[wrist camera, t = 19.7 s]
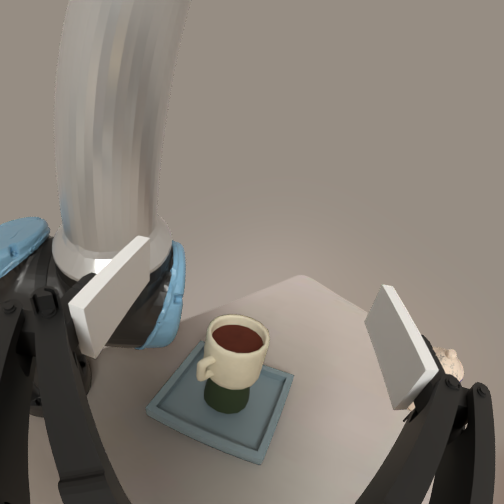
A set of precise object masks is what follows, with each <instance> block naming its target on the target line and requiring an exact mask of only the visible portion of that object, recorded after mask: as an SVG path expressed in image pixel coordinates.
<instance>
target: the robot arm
mask: <svg viewBox="0 0 504 504" xmlns="http://www.w3.org/2000/svg"><path fill="white" fill-rule="evenodd" d="M191 1H192V0H69V2H68V6H67V11H66V15H65V19H64V24H63V29H62V35H61V41H60V48H59V55H58V62H57V71H56V83H55V101H54V146H55V164H56V177H57V187H58V195H59V203H60V210H61V217H62V222H63V223H62V225H61V226H60V227H59V229H58V230H57V232H56V234H55V236H54V237H51V236H49V233H50V228H49V227H48V224H47V222H46V221H45V220H44V219H41V218H39V217H26V218H20V219H16V220H12V221H9V222H6V223H3V224H1V225H0V504H30V492H29V478H28V428H29V414H31V415H34V416H38V417H44V419H45V424H46V429H47V433H48V437H49V441H50V445H51V449H52V453H53V456H54V460H55V463H56V466H57V470H58V473H59V476H60V481H59V483H58V489H59V492H60V496H61V498H62V501H63V503H64V504H131V502H130V500H129V499H128V497H127V496H126V494H125V493H124V491H123V489H122V487H121V485H120V483H119V481H118V479H117V477H116V475H115V472H114V470H113V468H112V466H111V463H110V461H109V459H108V456H107V454H106V452H105V449H104V447H103V444H102V442H101V439H100V436H99V434H98V431H97V428H96V425H95V422H94V419H93V416H92V413H91V410H90V407H89V404H88V400H87V397H86V395H87V393H88V390H89V388H90V384H91V371H90V367H89V364H88V361H87V358H86V355H87V356H89V357H91V358H94V359H96V358H97V357H98V355H99V354H100V352H101V350H102V349H103V347H104V346H110V347H124V348H135V349H138V350H142V349H144V348H156V347H165V346H167V345H169V344H170V343H171V342H172V341H173V340H174V338H175V336H176V334H177V331H178V328H179V324H180V319H181V314H182V306H183V303H182V297H183V294H184V288H185V270H186V268H185V267H186V264H185V252H184V248H183V246H182V245H181V244H180V243H178V242H175V241H173V240H172V234H171V231H170V228H169V226H168V225H167V223H166V222H165V221H164V220H163V219H162V218H161V217H160V216H159V215H158V214H157V204H158V190H159V178H160V167H161V157H162V148H163V140H164V132H165V124H166V117H167V110H168V104H169V97H170V93H171V87H172V81H173V76H174V71H175V66H176V61H177V56H178V52H179V47H180V43H181V38H182V34H183V30H184V26H185V22H186V18H187V14H188V11H189V7H190V4H191ZM365 325H366V328H367V330H368V333H369V336H370V339H371V342H372V344H373V347H374V350H375V353H376V356H377V359H378V362H379V365H380V368H381V371H382V374H383V377H384V381H385V384H386V387H387V390H388V394H389V397H390V400H391V404H392V407H393V410H404V409H407V408H408V407H409V406H410V405H411V403H412V402H414V405H415V408H414V409H413V410H412V411H411V412H410V413H409V415H408V416H407V417H406V418H405V419H404V420H403V422H405V421H406V420H407V421H406V423H405V425H404V427H403V429H402V431H401V433H400V435H399V437H398V438H397V440H396V442H395V444H394V446H393V447H392V449H391V451H390V452H389V454H388V456H387V457H386V459H385V461H384V462H383V464H382V465H381V467H380V469H379V470H378V472H377V473H376V475H375V476H374V478H373V479H372V481H371V482H370V484H369V485H368V486H367V488H366V489H365V491H364V492H363V493H362V495H361V496H360V497H359V499H358V500H357V501H356V503H355V504H421V503H422V501H423V499H424V497H425V495H426V493H427V491H428V489H429V487H430V485H431V482H432V480H433V478H434V476H435V478H434V483H433V488H432V493H431V497H430V501H429V504H492V503H493V494H494V480H495V434H494V419H493V409H492V401H491V395H490V391H489V390H488V388H487V387H486V386H485V385H484V384H482V383H479V382H477V383H475V384H474V385H473V386H472V387H471V388H470V389H467V388H464V387H462V386H461V384H460V382H459V380H458V379H457V378H456V377H454V376H453V375H451V374H446V373H445V371H444V369H443V367H442V365H441V363H440V361H439V359H438V357H437V356H436V353H435V351H434V350H433V347H432V346H431V344H430V342H429V341H428V340H427V339H426V337H424V335H421V334H420V332H419V331H418V329H417V327H416V325H415V323H414V322H413V320H412V318H411V316H410V314H409V313H408V311H407V309H406V308H405V306H404V304H403V302H402V301H401V299H400V298H399V296H398V294H397V292H396V291H395V289H394V287H393V286H388V285H383V284H382V285H381V288H380V290H379V292H378V294H377V297H376V299H375V301H374V303H373V306H372V307H371V309H370V312H369V314H368V316H367V318H366V320H365ZM467 423H468V425H467V428H466V429H465V425H466V424H467Z"/></svg>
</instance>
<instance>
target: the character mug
mask: <svg viewBox="0 0 504 504" xmlns="http://www.w3.org/2000/svg"><path fill="white" fill-rule="evenodd" d="M269 341H270V336H269V331H268V329H266V328H265V327H264V326H263V325H262V324H261V323H260V322H258V321H256V320H254V319H253V318H250V317H247V316H243V315H237V314H227V315H222V316H219V317H217V318H215V319H214V320H213V321H211V322H210V325H209V327H208V329H207V333H206V340H205V345H204V357H203V359H201V360H200V361H199V362H198V363H197V371H196V377H197V380H198V381H204V380H206V379H207V382H206V385H205V389H204V400H205V401H206V403H207V404H208V406H210V407H211V408H213V409H214V410H216V411H218V412H221V413H225V414H233V413H238V412H240V411H241V410H243V409H244V408H245V407H246V405H247V403H248V401H249V394H250V386H252V385H253V384H254V383H255V382H256V381H257V379H258V378H259V375H260V372H261V369H262V366H263V362H264V359H265V356H266V353H267V349H268V345H269Z"/></svg>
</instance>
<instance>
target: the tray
mask: <svg viewBox="0 0 504 504" xmlns="http://www.w3.org/2000/svg"><path fill="white" fill-rule="evenodd" d="M204 345H205V342H203V341H200V342H199V343H198V344H197V346H196V347H195V348H194V349H193V351H192V352H191V353H190V354H189V355H188V357H187V358H186V359H185V360H184V362H183V363H182V364H181V365H180V367H179V368H178V369H177V370H176V371H175V373H174V374H173V375H172V376H171V378H170V379H169V380H168V381H167V382H166V384H165V385H164V386H163V387H162V388H161V390H160V391H159V392H158V393H157V395H156V396H155V397H154V398H153V399H152V401H151V402H150V403H149V404H148V405H147V407H146V413H147V415H148V416H150V417H152V418H154V419H156V420H157V421H159V422H161V423H163V424H165V425H167V426H169V427H170V428H172V429H174V430H176V431H178V432H180V433H182V434H184V435H186V436H188V437H191V438H193V439H195V440H197V441H199V442H201V443H204V444H206V445H208V446H211V447H213V448H215V449H218V450H220V451H223V452H225V453H228V454H230V455H233V456H235V457H238V458H241V459H244V460H246V461H249V462H252V463H255V464H258V465H260V464H261V463H262V461H263V459H264V457H265V454H266V452H267V449H268V447H269V444H270V442H271V439H272V437H273V434H274V431H275V429H276V426H277V423H278V421H279V418H280V415H281V412H282V410H283V407H284V404H285V401H286V398H287V395H288V392H289V389H290V387H291V384H292V381H293V377H294V375H292V374H289V373H286V372H283V371H280V370H277V369H274V368H271V367H268V366H265V365H263V366H262V369H261V372H260V375H259V378H258V379H257V381H256V382H255V383H254V384H253V385H252V386H250V394H249V401H248V403H247V405H246V407H245V408H244V409H243V410H241V411H240V412H238V413H233V414H225V413H221V412H218V411H216V410H214V409H213V408H211V407H210V406H208V404H207V403H206V401H205V400H204V389H205V385H206V382H207V379H206V380H204V381H198V380H197V377H196V371H197V363H198V362H199V361H200V360H201V359H203V357H204Z"/></svg>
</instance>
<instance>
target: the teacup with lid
mask: <svg viewBox="0 0 504 504" xmlns="http://www.w3.org/2000/svg"><path fill="white" fill-rule="evenodd" d="M433 350H434V351H435V353H436V356H437V357H438V359H439V361H440V363H441V365H442V367H443V369H444V371H445V373H446V374H451V375H453V376H454V377H456V378H457V379H458V380H459V382H461V381H462V378H463V375H464V369H463V366H462V364H461V362H460V360H459V359H458V358H457V357H456V356H457V353H456V351H455V350H453V349H449V350H446V349H443V348H440V347H433ZM414 408H415V405H414V402H412V403H411V405H410V406H409V407H408V409H409V410H411V411H412V410H413V409H414Z"/></svg>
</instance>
